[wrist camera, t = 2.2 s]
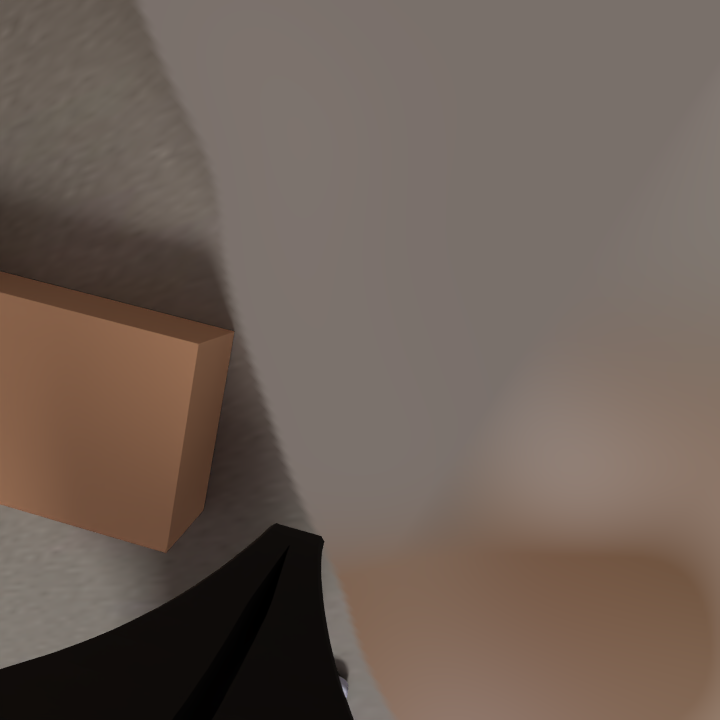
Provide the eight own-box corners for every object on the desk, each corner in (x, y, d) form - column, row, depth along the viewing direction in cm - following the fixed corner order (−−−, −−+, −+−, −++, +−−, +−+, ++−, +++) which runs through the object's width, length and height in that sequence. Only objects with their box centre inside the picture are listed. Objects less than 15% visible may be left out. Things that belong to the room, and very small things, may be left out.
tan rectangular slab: (203, 510, 19) (166, 552, 16) (-49, 437, 20) (-128, 466, 17) (234, 331, 17) (198, 344, 15) (-44, 259, 18) (-131, 258, 15)
